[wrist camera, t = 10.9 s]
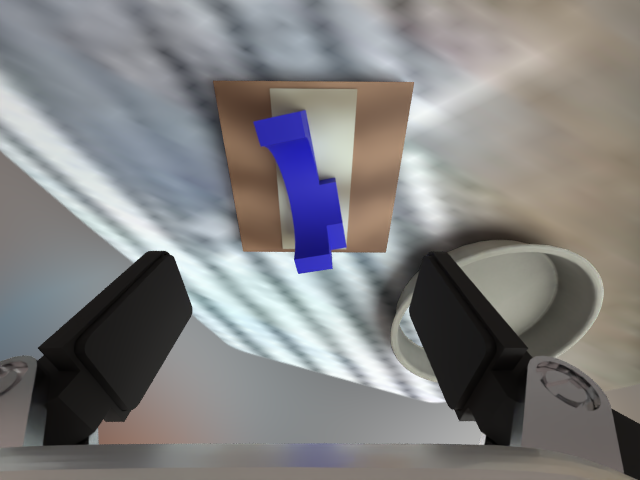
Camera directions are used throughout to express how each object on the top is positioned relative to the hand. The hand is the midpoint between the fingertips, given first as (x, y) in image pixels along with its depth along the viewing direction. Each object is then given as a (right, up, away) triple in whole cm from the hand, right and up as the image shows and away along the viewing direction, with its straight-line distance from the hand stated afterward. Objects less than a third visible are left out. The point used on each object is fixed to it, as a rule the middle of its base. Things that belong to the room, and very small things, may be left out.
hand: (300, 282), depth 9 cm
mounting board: (0, +8, +15) cm, 17 cm away
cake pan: (+22, -7, +25) cm, 34 cm away
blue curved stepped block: (0, +7, +14) cm, 16 cm away
